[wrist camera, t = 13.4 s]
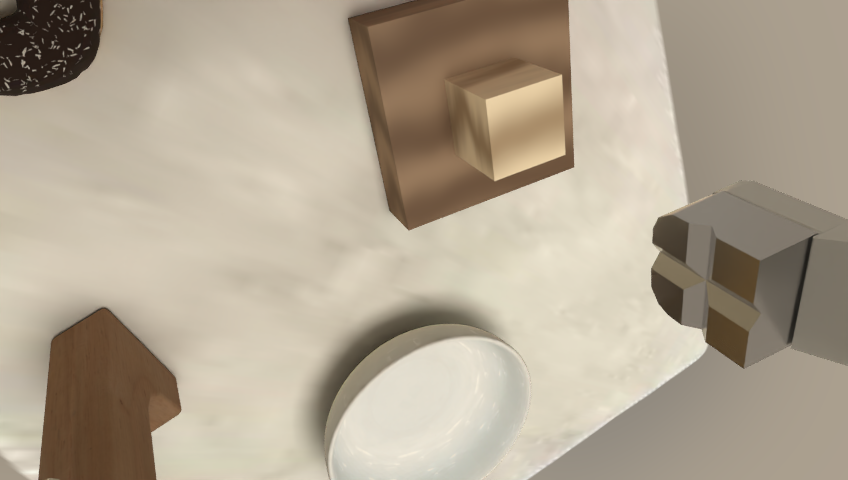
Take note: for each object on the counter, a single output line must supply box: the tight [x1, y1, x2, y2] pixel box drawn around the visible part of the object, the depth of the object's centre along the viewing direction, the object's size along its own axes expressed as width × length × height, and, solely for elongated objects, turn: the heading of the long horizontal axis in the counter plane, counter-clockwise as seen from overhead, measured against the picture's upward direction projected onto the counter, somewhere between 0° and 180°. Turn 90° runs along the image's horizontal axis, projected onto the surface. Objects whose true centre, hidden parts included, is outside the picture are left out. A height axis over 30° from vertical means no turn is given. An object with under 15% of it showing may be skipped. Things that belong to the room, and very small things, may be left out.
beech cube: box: [444, 58, 566, 181], centre depth 46 cm, size 6×6×6 cm
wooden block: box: [38, 308, 181, 480], centre depth 41 cm, size 9×4×18 cm, turn 24°
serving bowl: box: [324, 324, 531, 480], centre depth 61 cm, size 21×21×7 cm
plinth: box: [348, 0, 574, 230], centre depth 50 cm, size 16×16×4 cm
